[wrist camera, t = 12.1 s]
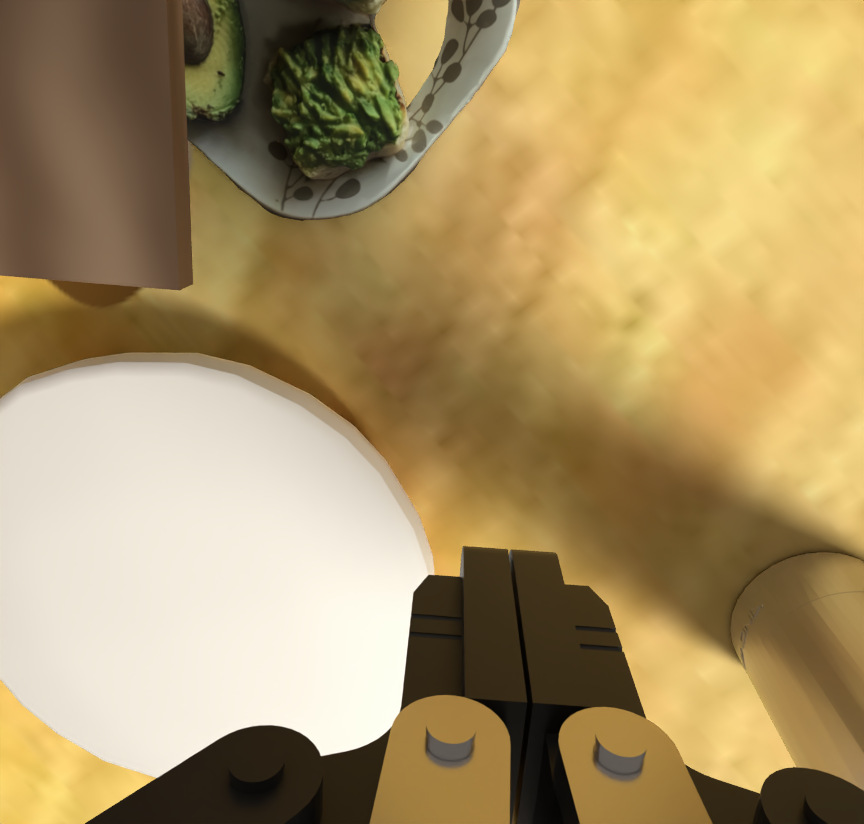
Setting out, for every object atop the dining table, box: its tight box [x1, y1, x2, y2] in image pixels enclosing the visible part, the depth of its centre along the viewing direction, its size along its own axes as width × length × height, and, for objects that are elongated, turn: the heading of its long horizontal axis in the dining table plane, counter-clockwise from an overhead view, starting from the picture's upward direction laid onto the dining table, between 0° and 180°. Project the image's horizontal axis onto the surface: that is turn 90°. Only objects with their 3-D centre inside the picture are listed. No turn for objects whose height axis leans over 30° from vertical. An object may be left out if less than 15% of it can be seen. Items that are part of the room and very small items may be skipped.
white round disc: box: [0, 352, 435, 778], centre depth 40 cm, size 28×6×27 cm
